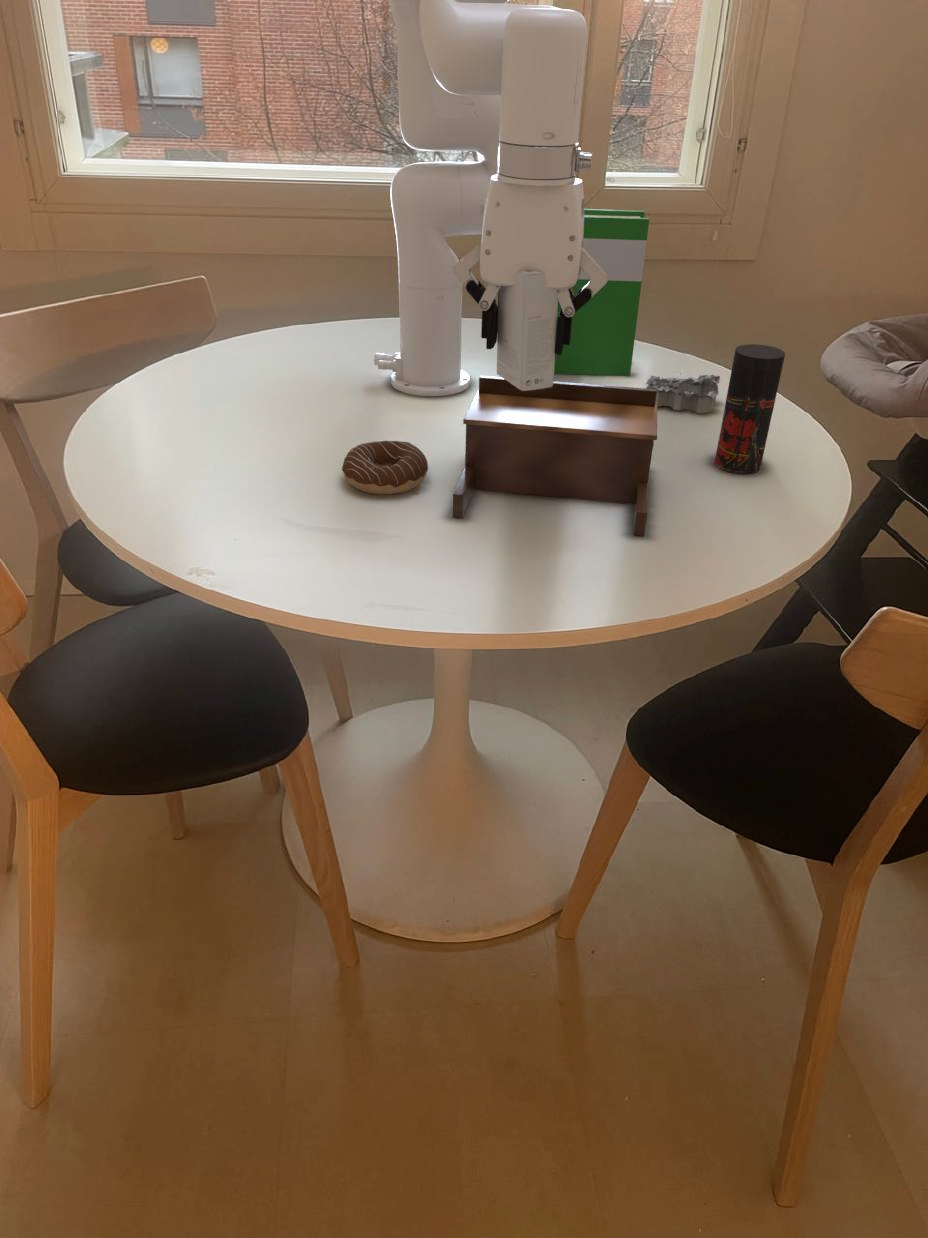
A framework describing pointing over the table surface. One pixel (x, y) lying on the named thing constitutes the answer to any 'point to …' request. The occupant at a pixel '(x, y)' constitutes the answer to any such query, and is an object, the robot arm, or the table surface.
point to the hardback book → (608, 296)
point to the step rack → (560, 443)
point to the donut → (385, 467)
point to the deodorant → (749, 408)
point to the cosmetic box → (527, 332)
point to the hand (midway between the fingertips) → (525, 346)
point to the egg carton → (686, 392)
